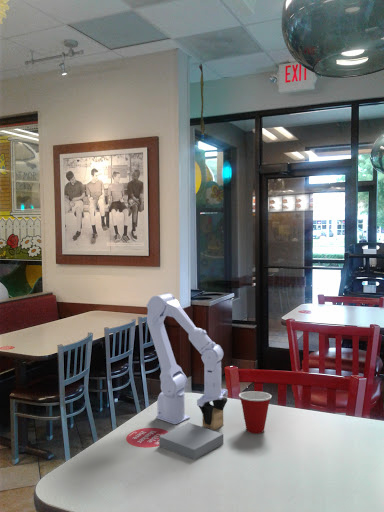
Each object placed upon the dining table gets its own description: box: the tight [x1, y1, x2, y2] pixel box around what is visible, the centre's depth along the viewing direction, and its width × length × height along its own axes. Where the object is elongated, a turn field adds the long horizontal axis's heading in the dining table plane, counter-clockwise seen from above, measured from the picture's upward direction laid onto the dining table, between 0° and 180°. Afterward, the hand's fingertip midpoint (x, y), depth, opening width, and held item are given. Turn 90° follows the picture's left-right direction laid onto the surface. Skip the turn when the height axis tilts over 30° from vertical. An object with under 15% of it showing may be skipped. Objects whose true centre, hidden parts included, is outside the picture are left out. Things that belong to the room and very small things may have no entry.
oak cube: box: [202, 408, 224, 431], centre depth 161 cm, size 5×5×5 cm
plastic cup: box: [238, 390, 273, 434], centre depth 157 cm, size 11×11×12 cm
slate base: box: [158, 422, 224, 461], centre depth 146 cm, size 14×14×3 cm
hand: (212, 421), depth 161 cm, fingers closed on oak cube, 5 cm apart
